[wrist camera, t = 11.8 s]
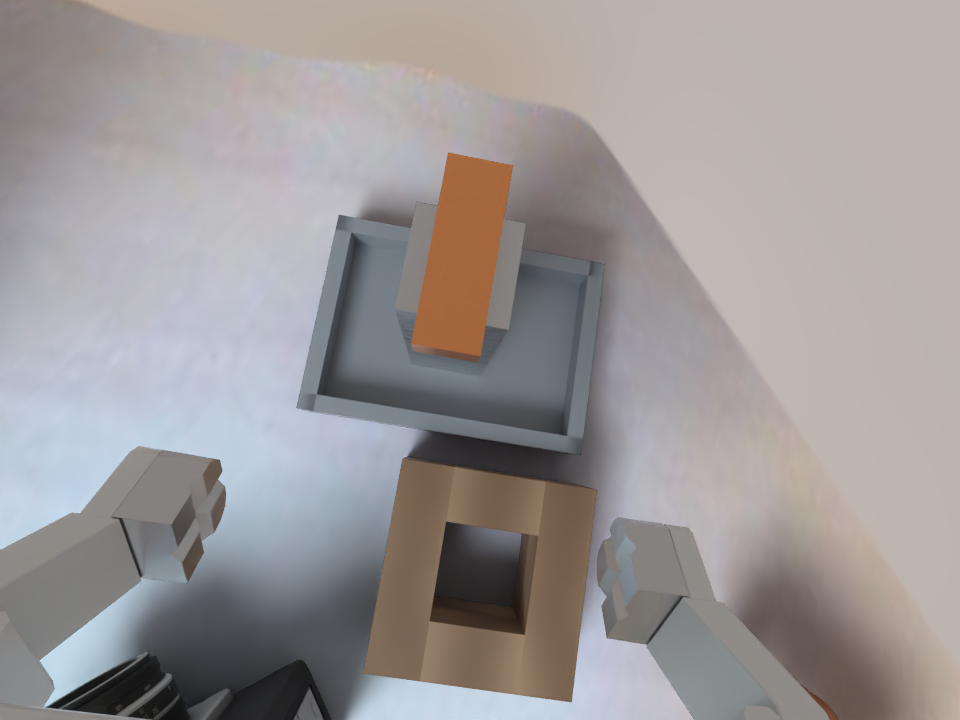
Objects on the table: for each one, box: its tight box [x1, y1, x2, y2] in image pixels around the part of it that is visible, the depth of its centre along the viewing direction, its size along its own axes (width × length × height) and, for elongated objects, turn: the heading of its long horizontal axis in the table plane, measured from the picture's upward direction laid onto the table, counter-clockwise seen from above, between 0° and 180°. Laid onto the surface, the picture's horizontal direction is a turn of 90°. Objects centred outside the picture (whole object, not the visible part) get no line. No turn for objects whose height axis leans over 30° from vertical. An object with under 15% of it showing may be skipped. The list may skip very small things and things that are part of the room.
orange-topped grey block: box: [395, 153, 526, 376], centre depth 22 cm, size 4×6×13 cm, turn 170°
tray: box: [297, 215, 605, 455], centre depth 28 cm, size 14×10×2 cm
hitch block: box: [363, 457, 597, 702], centre depth 25 cm, size 9×9×4 cm
